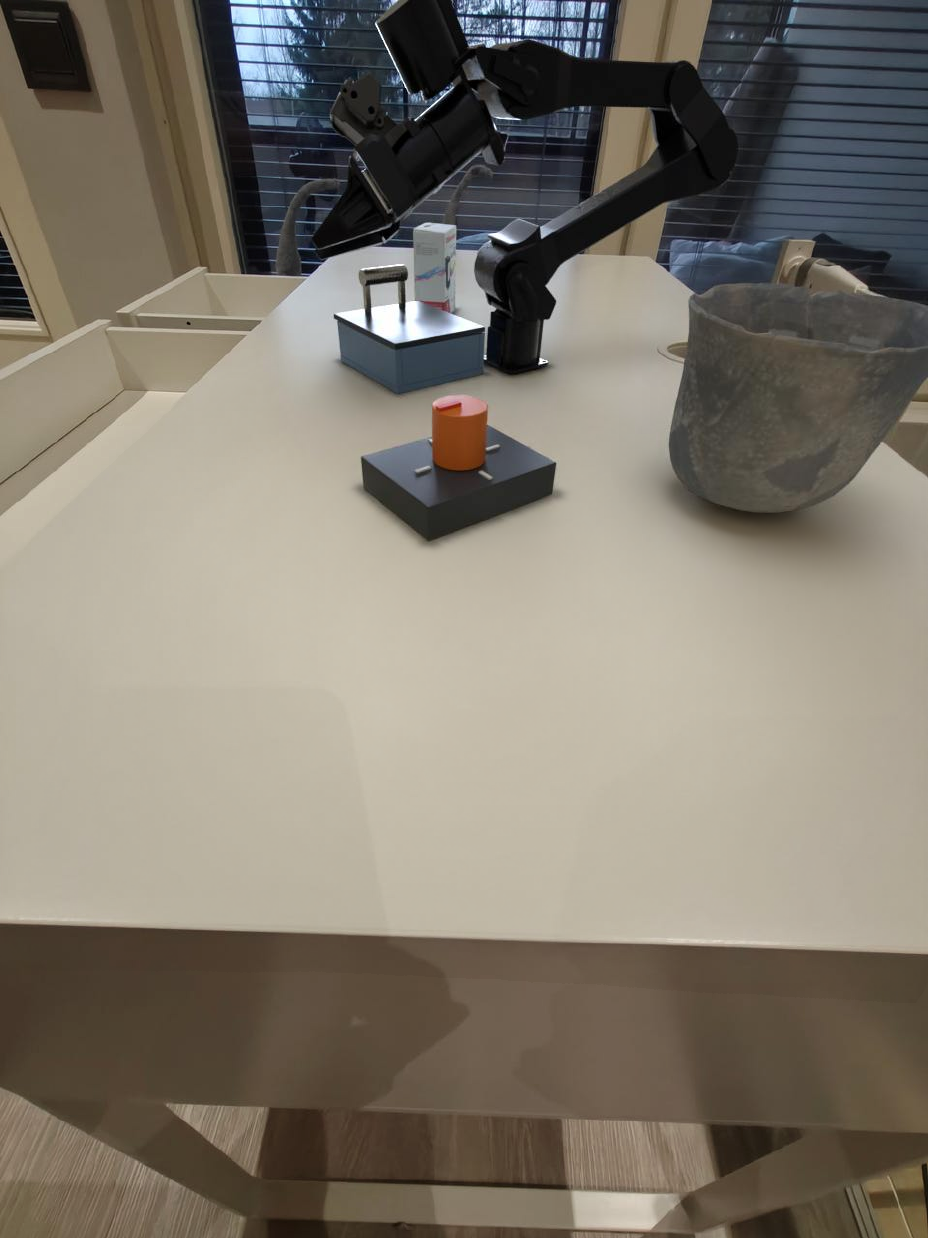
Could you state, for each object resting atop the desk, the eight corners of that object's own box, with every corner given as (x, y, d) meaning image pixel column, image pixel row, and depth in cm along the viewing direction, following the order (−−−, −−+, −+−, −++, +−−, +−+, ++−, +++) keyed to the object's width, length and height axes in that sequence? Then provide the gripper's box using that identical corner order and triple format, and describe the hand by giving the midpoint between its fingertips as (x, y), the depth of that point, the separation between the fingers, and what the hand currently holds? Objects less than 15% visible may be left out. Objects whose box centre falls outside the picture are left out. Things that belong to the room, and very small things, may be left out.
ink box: (444, 322, 91) (445, 231, 83) (413, 320, 91) (411, 229, 83) (456, 308, 97) (457, 223, 89) (427, 306, 98) (426, 221, 90)
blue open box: (341, 361, 76) (336, 320, 73) (422, 345, 82) (421, 307, 79) (397, 393, 68) (395, 349, 65) (483, 373, 74) (485, 332, 71)
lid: (333, 318, 73) (328, 268, 70) (418, 305, 79) (417, 258, 76) (395, 349, 65) (392, 294, 61) (485, 332, 71) (487, 281, 67)
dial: (464, 442, 51) (465, 387, 48) (495, 461, 49) (499, 404, 46) (422, 455, 49) (420, 398, 46) (453, 476, 47) (453, 416, 44)
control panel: (481, 451, 57) (482, 419, 55) (552, 494, 51) (557, 460, 49) (363, 488, 51) (360, 454, 49) (428, 541, 45) (427, 505, 43)
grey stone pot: (761, 441, 61) (823, 275, 51) (911, 530, 48) (1032, 333, 38) (610, 464, 56) (647, 286, 46) (735, 570, 43) (823, 357, 33)
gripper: (379, 94, 64) (269, 190, 66) (392, 10, 48) (246, 143, 49) (439, 197, 69) (336, 284, 71) (471, 155, 53) (335, 270, 54)
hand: (316, 250), depth 61 cm, fingers open, 9 cm apart
